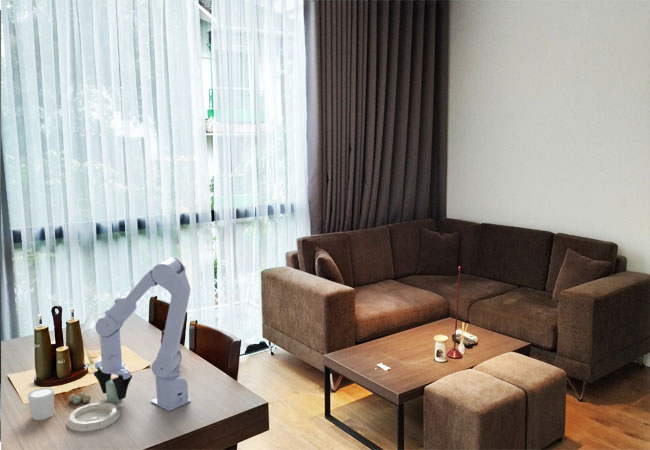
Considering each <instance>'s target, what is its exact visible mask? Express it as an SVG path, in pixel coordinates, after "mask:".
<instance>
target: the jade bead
mask: <svg viewBox="0 0 650 450" xmlns="http://www.w3.org/2000/svg"><path fill="white" fill-rule="evenodd" d="M105 394H106V403H111V404H113V405H115V404H119V403H121V402H122V401H123V399H121V400H119V399H118V396H117V390H116V387H115V385H114V383H113V381H112V379H111V380H109V381H107V382H106V393H105Z"/></svg>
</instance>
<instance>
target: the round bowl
mask: <svg viewBox="0 0 650 450" xmlns="http://www.w3.org/2000/svg"><path fill="white" fill-rule="evenodd" d="M120 413H121V412H120V410H119V408H117V405H115V404H111V403H107V402H103V401H100V402H99V401H98V402H94V403H86V404H85V405H82V406H81V407H80V406H79V407H77V408H76V409H74V410H73V411H72V412H71V413H69V418H68V419H67V420H66V425H67V427H68V429H69V430H71V431H74V432H79V433H80V432H81V433H87V432H89V433H90V432H94V431H98V430H102V429H105V428H108V427H109V426H112V425H113V424H114V423H116V422H118V421H119V419H120V415H121V414H120Z"/></svg>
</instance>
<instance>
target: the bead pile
mask: <svg viewBox="0 0 650 450" xmlns="http://www.w3.org/2000/svg"><path fill="white" fill-rule="evenodd" d="M67 400H68V402H70V403H73V404H74V405H79V404H81V401H82V402H83V403H86V404H88V403H89V402H90V401H91V395H90V394H86V393H85V392H79V393H78V394H77V395H76V394H75V393H71V394H69V396H68V398H67Z"/></svg>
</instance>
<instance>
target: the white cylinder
mask: <svg viewBox="0 0 650 450" xmlns="http://www.w3.org/2000/svg"><path fill="white" fill-rule="evenodd" d="M27 399H28V403H29V407H30V409H29V410H30V413H31V418H32V420H35V421H43V420H47V419H49V418H51V417H52V416H53V415H54V413H55V390H54V388H52V387H51V388H50V387H44V388H43V387H42V388H39V389H34V390H33V391H30V392H29V393H28V395H27Z"/></svg>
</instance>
